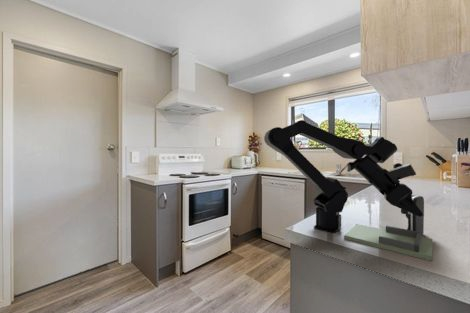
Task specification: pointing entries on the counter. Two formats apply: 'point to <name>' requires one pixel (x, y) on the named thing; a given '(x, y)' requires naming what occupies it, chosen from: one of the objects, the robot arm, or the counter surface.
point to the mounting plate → (392, 240)
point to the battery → (413, 220)
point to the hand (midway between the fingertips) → (417, 211)
